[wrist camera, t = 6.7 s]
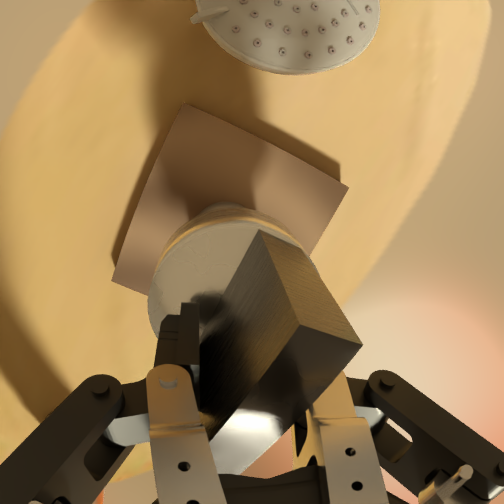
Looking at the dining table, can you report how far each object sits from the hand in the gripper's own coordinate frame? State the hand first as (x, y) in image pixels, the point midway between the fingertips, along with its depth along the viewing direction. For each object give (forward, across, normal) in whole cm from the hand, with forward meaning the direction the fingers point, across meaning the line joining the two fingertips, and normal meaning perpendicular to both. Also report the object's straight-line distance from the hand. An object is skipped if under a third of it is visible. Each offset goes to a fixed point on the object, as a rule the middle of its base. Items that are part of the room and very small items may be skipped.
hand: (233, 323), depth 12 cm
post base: (+11, 0, 0) cm, 11 cm away
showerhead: (+11, -2, -15) cm, 18 cm away
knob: (+3, 0, 0) cm, 3 cm away
